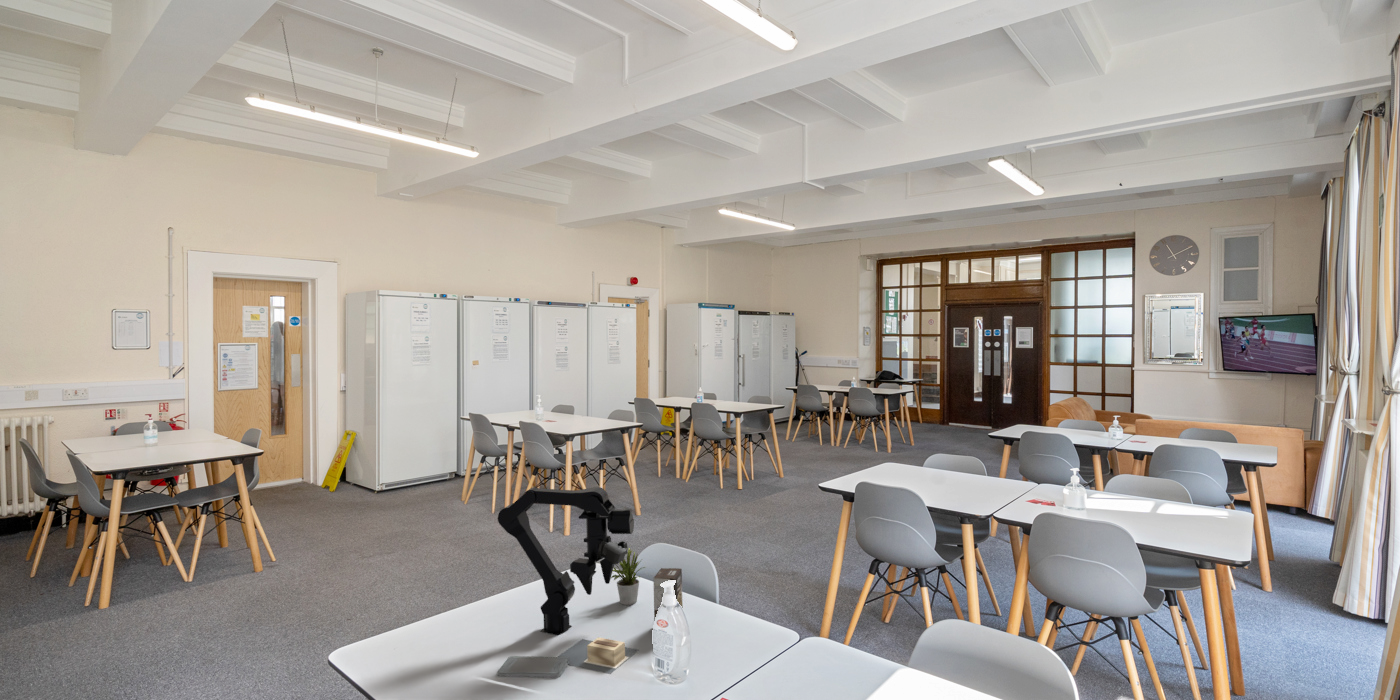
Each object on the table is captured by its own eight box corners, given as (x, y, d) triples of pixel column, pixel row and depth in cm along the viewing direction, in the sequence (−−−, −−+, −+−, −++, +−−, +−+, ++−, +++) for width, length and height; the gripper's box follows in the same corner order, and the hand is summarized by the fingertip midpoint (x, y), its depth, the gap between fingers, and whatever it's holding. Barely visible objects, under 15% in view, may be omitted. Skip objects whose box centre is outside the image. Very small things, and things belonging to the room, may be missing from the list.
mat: (550, 663, 172) (550, 661, 172) (582, 640, 184) (582, 638, 184) (610, 675, 164) (610, 673, 164) (639, 651, 177) (639, 649, 177)
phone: (509, 660, 173) (509, 655, 173) (570, 661, 171) (569, 656, 171) (496, 677, 165) (496, 672, 165) (559, 678, 163) (559, 673, 163)
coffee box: (676, 637, 185) (675, 578, 185) (654, 636, 186) (652, 577, 186) (684, 624, 194) (682, 567, 194) (662, 622, 195) (660, 567, 195)
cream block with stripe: (625, 657, 172) (624, 641, 172) (614, 666, 168) (614, 649, 168) (598, 652, 176) (598, 636, 176) (587, 661, 171) (587, 644, 171)
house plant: (605, 593, 220) (603, 543, 219) (647, 590, 221) (646, 541, 221) (603, 610, 205) (602, 557, 205) (649, 607, 207) (647, 554, 207)
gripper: (602, 545, 178) (604, 604, 178) (638, 527, 195) (639, 581, 195) (568, 541, 183) (569, 599, 183) (605, 524, 200) (607, 577, 200)
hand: (598, 588), depth 190 cm, fingers open, 9 cm apart
